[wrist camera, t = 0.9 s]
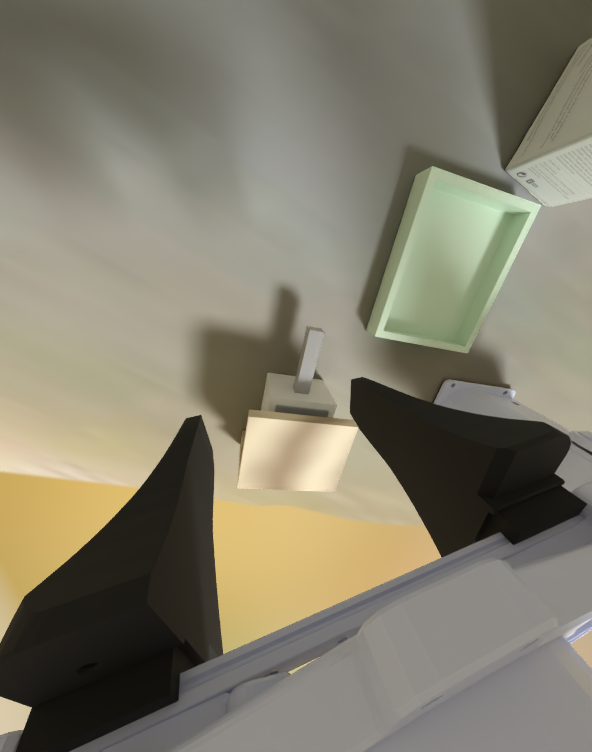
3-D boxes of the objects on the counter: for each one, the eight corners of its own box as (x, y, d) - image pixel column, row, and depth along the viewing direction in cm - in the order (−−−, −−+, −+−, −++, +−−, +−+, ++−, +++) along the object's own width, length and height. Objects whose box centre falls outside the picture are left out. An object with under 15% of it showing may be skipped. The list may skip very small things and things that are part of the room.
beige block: (334, 389, 26) (358, 427, 20) (316, 450, 29) (331, 499, 23) (250, 378, 24) (248, 416, 18) (240, 445, 27) (235, 496, 21)
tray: (517, 209, 21) (541, 205, 20) (453, 347, 26) (467, 353, 24) (415, 174, 19) (432, 165, 17) (365, 330, 24) (374, 336, 22)
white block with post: (337, 326, 23) (357, 342, 19) (305, 443, 29) (314, 478, 24) (277, 315, 22) (283, 329, 18) (255, 439, 27) (255, 476, 23)
